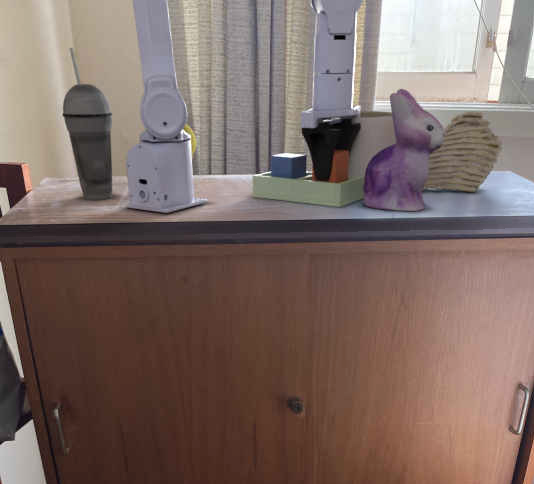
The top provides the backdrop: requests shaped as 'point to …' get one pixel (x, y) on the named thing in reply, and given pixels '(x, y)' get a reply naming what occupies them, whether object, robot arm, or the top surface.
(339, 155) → the terracotta block
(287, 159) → the blue block
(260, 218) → the top surface
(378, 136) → the planter
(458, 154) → the fossil tooth
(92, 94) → the beverage cup
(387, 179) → the figurine
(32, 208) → the top surface
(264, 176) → the tray
